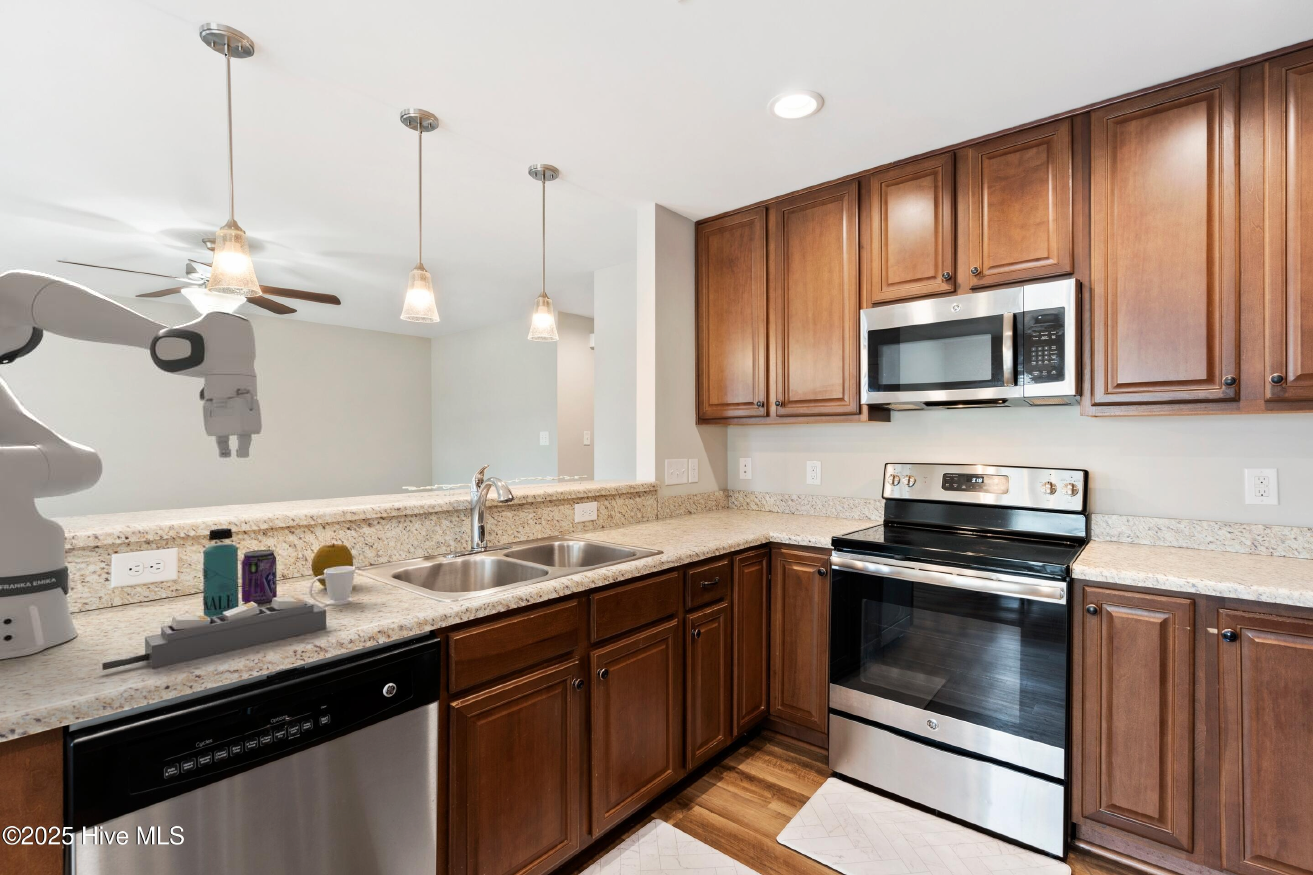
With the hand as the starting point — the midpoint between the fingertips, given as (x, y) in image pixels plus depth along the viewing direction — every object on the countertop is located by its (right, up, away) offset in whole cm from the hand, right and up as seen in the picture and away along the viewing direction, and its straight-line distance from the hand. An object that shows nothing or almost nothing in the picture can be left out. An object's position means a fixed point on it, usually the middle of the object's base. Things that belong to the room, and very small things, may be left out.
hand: (233, 457), depth 124 cm
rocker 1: (+1, -30, -13) cm, 33 cm away
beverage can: (-9, -36, +21) cm, 43 cm away
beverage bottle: (-7, -36, +7) cm, 37 cm away
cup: (+10, -36, +19) cm, 42 cm away
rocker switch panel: (+5, -36, -10) cm, 37 cm away
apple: (+2, -36, +35) cm, 50 cm away
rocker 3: (+12, -30, -2) cm, 32 cm away
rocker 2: (+7, -30, -8) cm, 32 cm away
